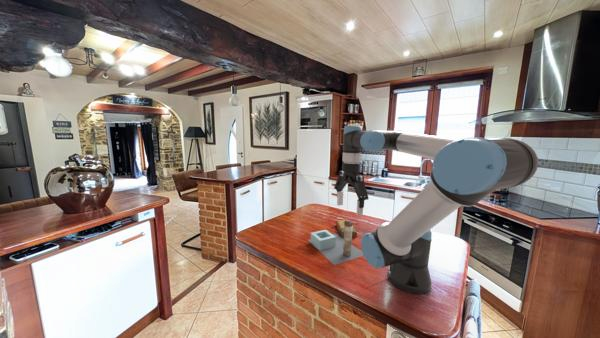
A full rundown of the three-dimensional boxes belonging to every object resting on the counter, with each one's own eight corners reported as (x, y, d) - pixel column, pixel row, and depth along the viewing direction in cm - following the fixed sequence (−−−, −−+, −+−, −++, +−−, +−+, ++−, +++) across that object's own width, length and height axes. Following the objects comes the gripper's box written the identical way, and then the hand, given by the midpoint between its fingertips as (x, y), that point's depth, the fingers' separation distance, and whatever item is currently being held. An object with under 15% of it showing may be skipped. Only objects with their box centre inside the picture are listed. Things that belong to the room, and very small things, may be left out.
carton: (349, 226, 135) (349, 219, 134) (357, 239, 119) (357, 231, 118) (335, 226, 134) (336, 219, 134) (341, 239, 118) (342, 231, 118)
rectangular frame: (335, 246, 109) (335, 236, 109) (319, 250, 105) (320, 240, 105) (325, 238, 117) (325, 229, 117) (310, 241, 113) (310, 232, 113)
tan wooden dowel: (352, 255, 101) (354, 222, 99) (346, 257, 100) (347, 224, 97) (347, 251, 105) (349, 219, 102) (341, 253, 103) (342, 221, 100)
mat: (366, 256, 102) (366, 254, 102) (334, 266, 94) (334, 265, 94) (335, 234, 123) (335, 233, 123) (307, 241, 116) (307, 240, 115)
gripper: (379, 165, 85) (376, 217, 89) (340, 158, 107) (339, 200, 111) (365, 167, 82) (362, 221, 86) (327, 159, 104) (326, 202, 108)
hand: (349, 209), depth 98 cm, fingers open, 13 cm apart
